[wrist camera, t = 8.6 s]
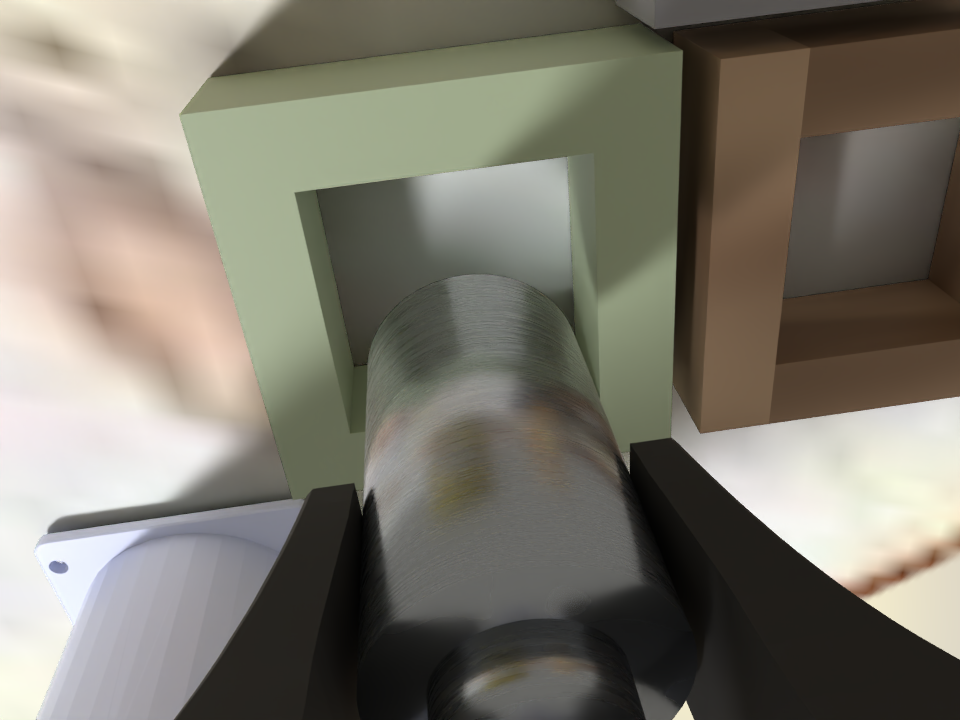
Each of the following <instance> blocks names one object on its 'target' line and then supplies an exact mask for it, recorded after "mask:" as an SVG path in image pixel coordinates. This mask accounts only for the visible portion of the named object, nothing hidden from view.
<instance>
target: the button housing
mask: <svg viewBox="0 0 960 720" xmlns="http://www.w3.org/2000/svg"><path fill="white" fill-rule="evenodd" d="M873 1H881V0H616V5H617V6H619V7H620V8H622V9H624V10H625V11H627V12H628V13H630V14H631V15H633V16H635V17H636V18H638V19H639V20H641V21H642V22H644V23H646V24H647V25H649V26H650V27H652V28H654V29H660V28H668V27H676V26H683V25H691V24H699V23H707V22H715V21H723V20H731V19H739V18H747V17H755V16H762V15H770V14H778V13H786V12H794V11H802V10H810V9H818V8H826V7H834V6H841V5H849V4H857V3H865V2H873Z"/></svg>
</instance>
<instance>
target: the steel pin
mask: <svg viewBox="0 0 960 720" xmlns="http://www.w3.org/2000/svg"><path fill="white" fill-rule="evenodd" d="M697 663H698V662H697V647H696V643H695V640H694V636H693V633H692V630H691V628H690V625H689V623H688V620H687V618H686V615H685V613H684V610H683V608H682V605H681V603H680V600H679V598H678V595H677V592H676V590H675V587H674V585H673V582H672V580H671V577H670V575H669V572H668V570H667V567H666V565H665V562H664V560H663V557H662V555H661V552H660V550H659V547H658V545H657V542H656V539H655V537H654V534H653V532H652V529H651V527H650V524H649V522H648V519H647V517H646V514H645V512H644V509H643V507H642V504H641V502H640V499H639V497H638V494H637V492H636V489H635V486H634V484H633V481H632V479H631V476H630V474H629V471H628V469H627V466H626V464H625V461H624V459H623V456H622V454H621V451H620V449H619V446H618V444H617V441H616V439H615V436H614V433H613V431H612V428H611V426H610V423H609V421H608V418H607V416H606V413H605V411H604V408H603V406H602V403H601V401H600V398H599V396H598V393H597V391H596V388H595V386H594V383H593V380H592V378H591V375H590V373H589V370H588V368H587V365H586V363H585V360H584V358H583V355H582V353H581V350H580V348H579V345H578V343H577V340H576V338H575V335H574V333H573V330H572V328H571V326H570V324H569V322H568V320H567V319H566V317H565V316H564V314H563V313H562V311H561V310H560V309H559V308H558V307H557V306H556V305H555V303H554V302H553V301H551V300H550V299H549V298H548V297H547V296H545V295H544V294H543V293H541V292H540V291H538V290H536V289H535V288H533V287H531V286H529V285H527V284H525V283H522V282H520V281H517V280H514V279H510V278H507V277H502V276H496V275H487V274H471V275H460V276H455V277H450V278H446V279H443V280H440V281H437V282H434V283H431V284H429V285H427V286H425V287H423V288H421V289H419V290H417V291H416V292H414V293H413V294H411V295H409V296H408V297H406V298H405V299H404V300H403V301H402V302H400V303H399V304H398V305H397V306H396V307H395V308H394V309H393V310H392V311H391V312H390V313H389V314H388V315H387V317H386V318H385V320H384V321H383V322H382V324H381V325H380V327H379V329H378V331H377V333H376V335H375V336H374V339H373V342H372V345H371V348H370V352H369V357H368V369H367V399H366V428H365V458H364V487H363V516H362V546H361V575H360V605H359V634H358V663H357V700H356V702H357V707H358V712H359V716H360V719H361V720H672V719H673V718H674V717H675V715H676V714H677V713H678V711H679V710H680V709H681V707H682V706H683V704H684V703H685V701H686V699H687V697H688V695H689V693H690V691H691V689H692V686H693V683H694V680H695V676H696V670H697Z"/></svg>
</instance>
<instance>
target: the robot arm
mask: <svg viewBox="0 0 960 720" xmlns="http://www.w3.org/2000/svg"><path fill="white" fill-rule="evenodd" d="M630 476H631V479H632V481H633V484H634V486H635V489H636V492H637V494H638V497H639V499H640V502H641V504H642V507H643V509H644V512H645V514H646V517H647V519H648V522H649V524H650V527H651V529H652V532H653V534H654V537H655V539H656V542H657V545H658V547H659V550H660V552H661V555H662V557H663V560H664V562H665V565H666V567H667V570H668V572H669V575H670V577H671V580H672V582H673V585H674V587H675V590H676V592H677V595H678V598H679V600H680V603H681V605H682V608H683V610H684V613H685V615H686V618H687V620H688V623H689V625H690V628H691V630H692V633H693V636H694V640H695V643H696V647H697V662H698V663H697V670H696V676H695V680H694V683H693V686H692V689H691V691H690V693H689V695H688V697H687V699H686V701H687V704H688V706H689V708H690V711H691V713H692V715H693V718H694V720H960V660H959V659H957V658H956V657H954V656H952V655H950V654H949V653H947V652H945V651H943V650H942V649H940V648H938V647H936V646H935V645H933V644H931V643H929V642H928V641H926V640H924V639H922V638H921V637H919V636H917V635H916V634H914V633H912V632H911V631H909V630H908V629H906V628H904V627H903V626H901V625H899V624H898V623H896V622H895V621H893V620H891V619H890V618H888V617H887V616H886V615H884V614H882V613H881V612H880V611H878V610H877V609H875V608H874V607H872V606H871V605H869V604H867V603H866V602H865V601H863V600H862V599H860V598H859V597H857V596H856V595H854V594H853V593H851V592H850V591H849V590H847V589H846V588H844V587H843V586H842V585H840V584H839V583H838V582H836V581H835V580H833V579H832V578H831V577H829V576H828V575H827V574H825V573H824V572H823V571H821V570H820V569H819V568H818V567H816V566H815V565H814V564H812V563H811V562H810V561H809V560H807V559H806V558H805V557H803V556H802V555H801V554H800V553H798V552H797V551H796V550H795V549H793V548H792V547H791V546H790V545H789V544H787V543H786V542H785V541H784V540H782V539H781V538H780V537H779V536H778V535H776V534H775V533H774V532H773V531H772V530H771V529H769V528H768V527H767V526H766V525H765V524H764V523H763V522H761V521H760V520H759V519H758V518H757V517H756V516H754V515H753V514H752V513H751V512H750V511H749V510H748V509H746V508H745V507H744V506H743V505H742V504H741V503H740V502H739V501H738V500H736V499H735V498H734V497H733V496H732V495H731V494H730V493H729V492H728V491H727V490H726V489H725V488H724V487H722V486H721V485H720V484H719V483H718V482H717V481H716V480H715V479H714V478H713V477H712V476H711V475H710V474H709V473H708V472H707V471H706V470H705V469H704V468H703V467H702V466H701V465H700V464H698V463H697V462H696V461H695V460H694V459H693V458H692V457H691V456H690V455H689V454H688V453H687V452H686V451H685V450H684V449H683V448H682V447H681V446H680V445H679V444H678V443H677V442H676V441H674V440H673V439H672V438H665V439H658V440H651V441H644V442H637V443H630ZM361 546H362V513H361V509H360V505H359V500H358V496H357V492H356V488H355V484H354V483H350V484H343V485H336V486H329V487H322V488H315V489H312V490H311V491H310V493H309V494H308V495H307V496H306V498H305V500H302V499H296V500H293V499H287V500H280V501H273V502H266V503H259V504H252V505H245V506H238V507H231V508H224V509H217V510H211V511H204V512H197V513H190V514H183V515H176V516H169V517H162V518H155V519H148V520H141V521H134V522H127V523H120V524H113V525H106V526H99V527H92V528H85V529H78V530H71V531H64V532H57V533H50V534H47V535H44V536H42V537H41V538H40V539H39V541H38V543H37V545H36V547H35V550H34V553H35V557H36V558H37V560H38V562H39V564H40V566H41V568H42V570H43V571H44V573H45V575H46V577H47V579H48V581H49V582H50V584H51V586H52V588H53V590H54V592H55V593H56V595H57V597H58V599H59V601H60V603H61V604H62V606H63V608H64V610H65V612H66V614H67V615H68V617H69V619H70V621H71V623H72V625H73V628H72V631H71V633H70V636H69V638H68V641H67V643H66V646H65V648H64V651H63V653H62V656H61V658H60V661H59V663H58V666H57V668H56V671H55V673H54V675H53V678H52V680H51V683H50V685H49V688H48V690H47V693H46V695H45V698H44V700H43V703H42V705H41V708H40V710H39V713H38V715H37V718H36V720H361V719H360V716H359V712H358V707H357V702H356V700H357V663H358V634H359V605H360V575H361ZM57 561H62V562H65V563H66V564H62V563H59V562H57Z"/></svg>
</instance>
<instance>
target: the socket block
mask: <svg viewBox="0 0 960 720" xmlns="http://www.w3.org/2000/svg"><path fill="white" fill-rule="evenodd" d="M673 45H675V46H676V47H678V48H679V49H681V50H683V61H682V93H681V125H680V157H679V189H678V221H677V254H676V286H675V318H674V350H673V382H672V383H673V385H674V387H675V389H676V390H677V392H678V394H679V396H680V398H681V399H682V401H683V403H684V405H685V407H686V409H687V410H688V412H689V414H690V416H691V418H692V419H693V421H694V423H695V425H696V427H697V429H698V430H699V432H700V434H701V433H708V432H715V431H722V430H729V429H736V428H743V427H750V426H757V425H764V424H771V423H778V422H785V421H791V420H798V419H805V418H812V417H819V416H826V415H833V414H840V413H847V412H854V411H861V410H868V409H875V408H882V407H889V406H896V405H903V404H910V403H917V402H924V401H931V400H938V399H945V398H952V397H959V396H960V133H959V138H958V142H957V147H956V151H955V156H954V161H953V165H952V170H951V175H950V179H949V184H948V189H947V193H946V198H945V203H944V207H943V212H942V217H941V221H940V226H939V231H938V235H937V240H936V245H935V249H934V254H933V259H932V263H931V268H930V272H929V277H928V279H925V280H918V281H911V282H903V283H896V284H889V285H882V286H875V287H867V288H860V289H853V290H846V291H838V292H831V293H824V294H817V295H810V296H802V297H795V298H788V299H783V292H784V283H785V274H786V265H787V256H788V247H789V237H790V228H791V219H792V210H793V201H794V192H795V183H796V174H797V165H798V156H799V147H800V138H804V137H812V136H820V135H827V134H835V133H842V132H850V131H858V130H865V129H873V128H880V127H888V126H895V125H903V124H911V123H918V122H926V121H933V120H941V119H949V118H956V117H960V0H915V1H907V2H899V3H891V4H883V5H875V6H867V7H859V8H852V9H844V10H836V11H828V12H820V13H812V14H804V15H796V16H788V17H781V18H773V19H765V20H757V21H749V22H741V23H733V24H725V25H717V26H710V27H702V28H694V29H686V30H678V31H674V33H673Z"/></svg>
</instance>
